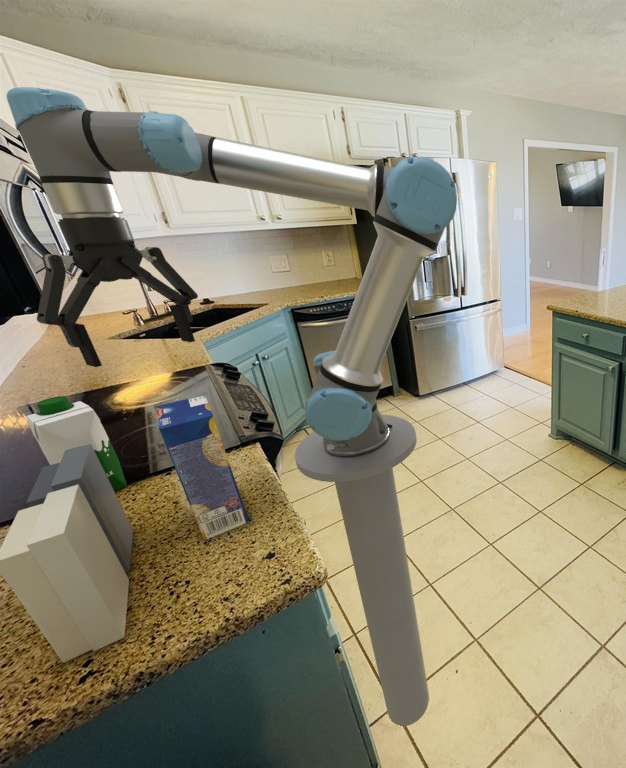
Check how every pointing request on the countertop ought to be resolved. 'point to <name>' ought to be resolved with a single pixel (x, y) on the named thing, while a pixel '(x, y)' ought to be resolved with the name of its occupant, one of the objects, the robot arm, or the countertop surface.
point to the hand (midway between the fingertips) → (145, 352)
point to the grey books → (89, 496)
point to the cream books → (66, 574)
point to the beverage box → (202, 465)
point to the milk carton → (74, 434)
